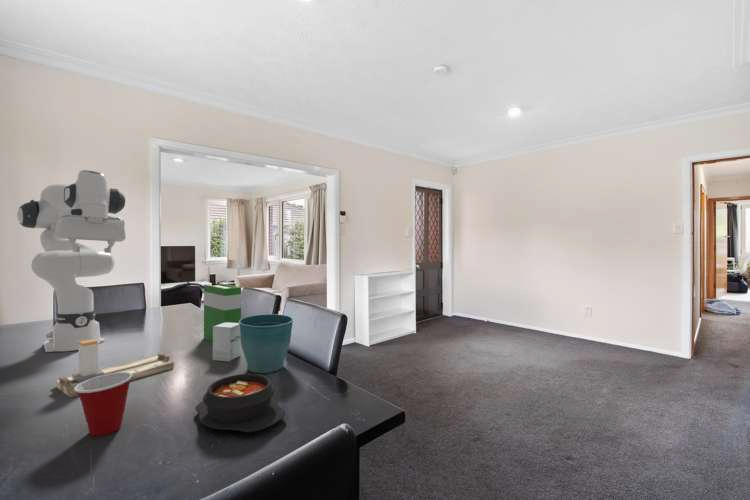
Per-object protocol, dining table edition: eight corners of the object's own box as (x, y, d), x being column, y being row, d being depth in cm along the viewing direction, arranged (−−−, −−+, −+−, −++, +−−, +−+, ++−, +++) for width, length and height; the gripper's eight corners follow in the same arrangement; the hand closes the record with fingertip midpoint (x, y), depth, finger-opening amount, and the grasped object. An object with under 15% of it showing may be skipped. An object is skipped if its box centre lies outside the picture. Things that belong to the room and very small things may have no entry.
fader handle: (72, 378, 105) (71, 341, 105) (96, 372, 110) (96, 337, 110) (79, 382, 102) (79, 345, 102) (104, 376, 107) (104, 340, 107)
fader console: (56, 386, 105) (55, 374, 105) (156, 360, 128) (156, 351, 128) (70, 397, 98) (69, 384, 98) (173, 368, 121) (173, 357, 121)
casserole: (302, 415, 91) (302, 383, 90) (240, 452, 75) (240, 413, 75) (239, 392, 104) (239, 363, 104) (175, 418, 88) (175, 385, 88)
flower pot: (302, 362, 129) (302, 316, 128) (272, 381, 112) (273, 328, 111) (261, 356, 135) (261, 312, 134) (226, 373, 118) (227, 322, 117)
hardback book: (203, 338, 157) (203, 284, 157) (219, 334, 163) (219, 283, 162) (224, 346, 146) (224, 288, 146) (240, 342, 152) (241, 287, 152)
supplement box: (230, 361, 128) (230, 327, 128) (211, 360, 130) (212, 326, 129) (241, 355, 135) (241, 322, 135) (224, 353, 137) (224, 321, 137)
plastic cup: (96, 418, 87) (96, 370, 87) (142, 417, 88) (142, 370, 88) (61, 444, 76) (60, 389, 76) (114, 442, 77) (113, 388, 77)
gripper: (120, 219, 138) (120, 254, 137) (53, 212, 120) (52, 252, 119) (128, 216, 135) (129, 252, 134) (61, 209, 117) (60, 250, 116)
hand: (92, 252), depth 126 cm, fingers open, 8 cm apart
